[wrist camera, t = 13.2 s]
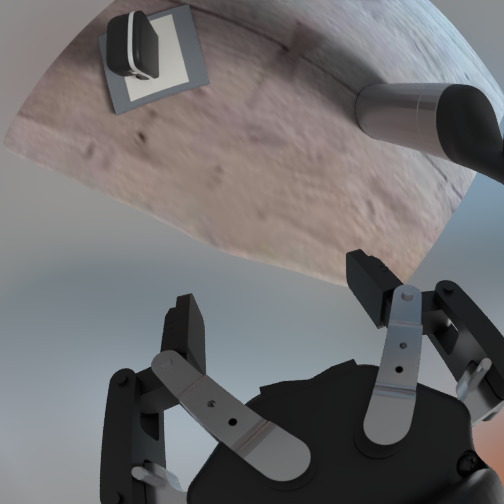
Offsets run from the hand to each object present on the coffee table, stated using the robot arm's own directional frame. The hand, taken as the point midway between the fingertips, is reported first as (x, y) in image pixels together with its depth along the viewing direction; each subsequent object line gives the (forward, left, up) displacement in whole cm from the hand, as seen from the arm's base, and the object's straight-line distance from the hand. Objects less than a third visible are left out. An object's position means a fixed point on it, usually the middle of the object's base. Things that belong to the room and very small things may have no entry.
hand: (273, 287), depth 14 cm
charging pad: (+6, -20, -27) cm, 34 cm away
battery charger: (+7, -19, -26) cm, 33 cm away
